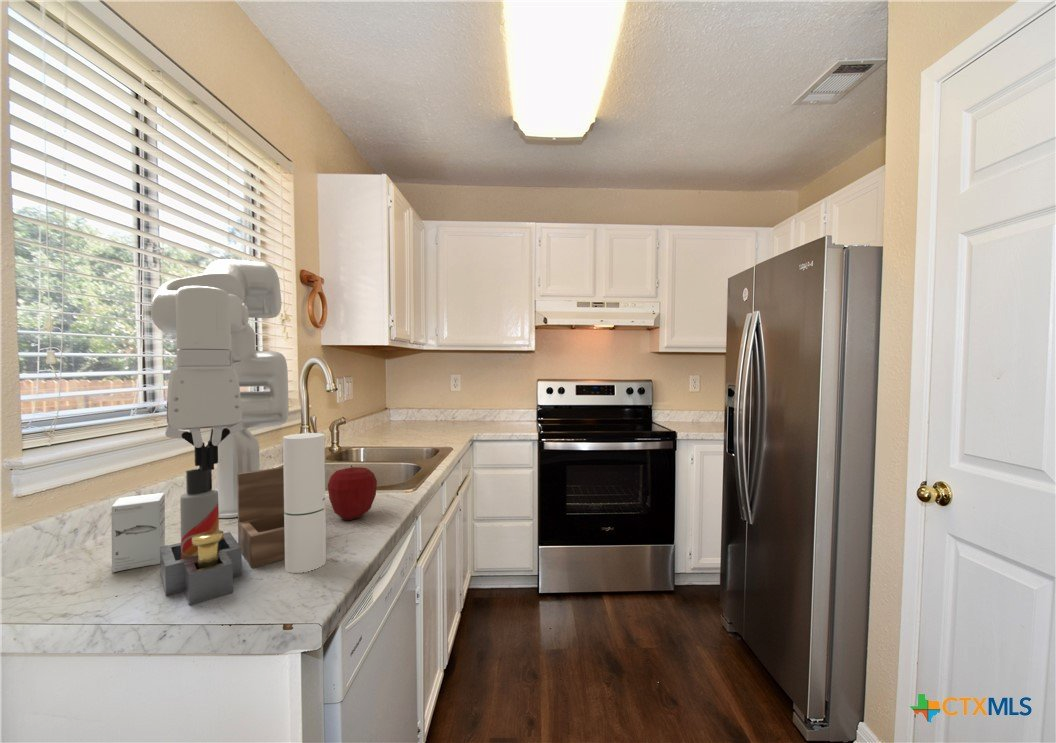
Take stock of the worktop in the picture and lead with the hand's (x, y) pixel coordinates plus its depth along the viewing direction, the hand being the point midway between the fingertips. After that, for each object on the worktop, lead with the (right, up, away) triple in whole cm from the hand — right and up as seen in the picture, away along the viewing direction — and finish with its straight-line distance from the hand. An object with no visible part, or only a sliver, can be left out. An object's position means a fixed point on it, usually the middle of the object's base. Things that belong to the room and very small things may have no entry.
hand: (206, 468), depth 77 cm
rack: (+2, -21, +17) cm, 27 cm away
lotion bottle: (-6, -21, +7) cm, 23 cm away
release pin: (0, -17, 0) cm, 17 cm away
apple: (+10, -21, +38) cm, 45 cm away
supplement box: (-22, -21, +13) cm, 33 cm away
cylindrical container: (+12, -21, +11) cm, 26 cm away
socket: (-4, -21, +5) cm, 22 cm away
